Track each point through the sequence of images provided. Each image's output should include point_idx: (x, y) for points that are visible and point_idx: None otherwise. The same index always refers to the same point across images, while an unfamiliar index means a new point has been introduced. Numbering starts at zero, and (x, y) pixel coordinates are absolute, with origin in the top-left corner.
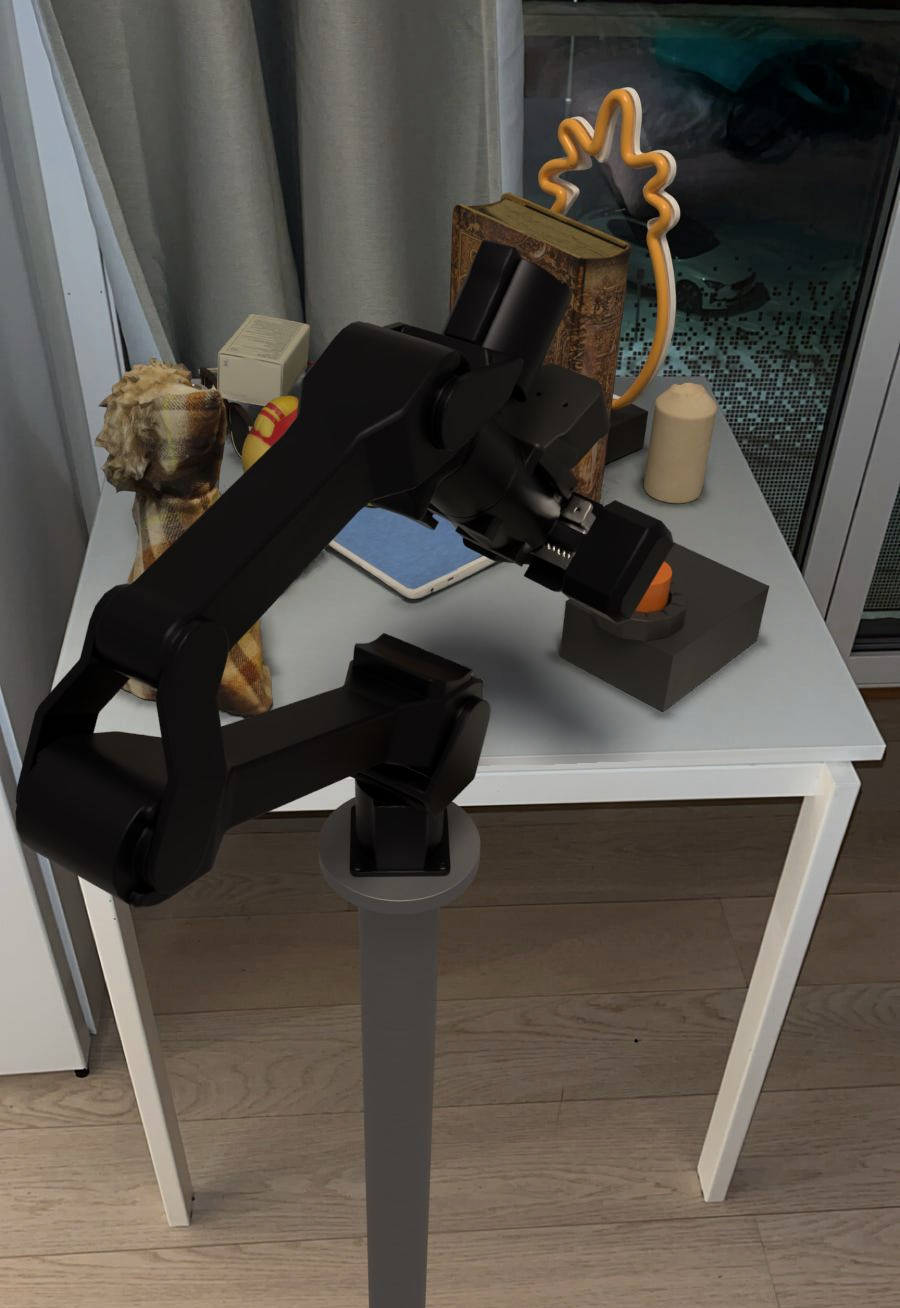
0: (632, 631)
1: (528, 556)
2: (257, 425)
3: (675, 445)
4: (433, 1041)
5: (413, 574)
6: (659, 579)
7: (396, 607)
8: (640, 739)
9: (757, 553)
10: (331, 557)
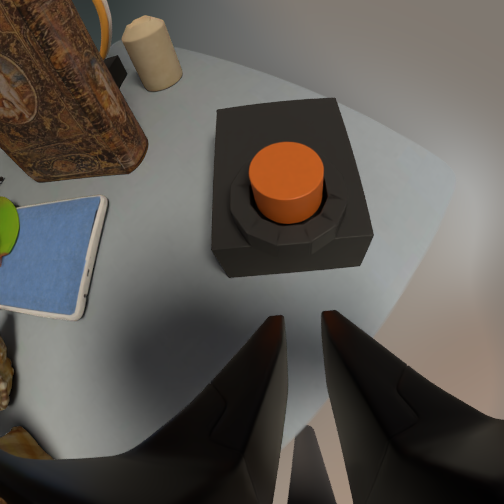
0: (322, 243)
1: (272, 481)
2: None
3: (153, 53)
4: (329, 481)
5: (64, 295)
6: (316, 170)
7: (77, 332)
8: (375, 313)
9: (253, 78)
10: (17, 314)
